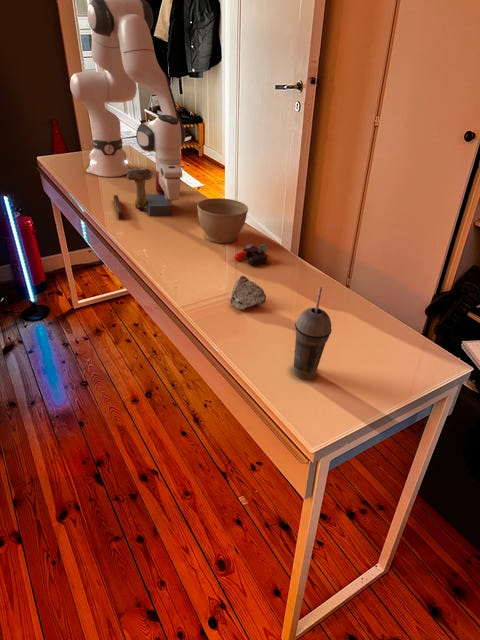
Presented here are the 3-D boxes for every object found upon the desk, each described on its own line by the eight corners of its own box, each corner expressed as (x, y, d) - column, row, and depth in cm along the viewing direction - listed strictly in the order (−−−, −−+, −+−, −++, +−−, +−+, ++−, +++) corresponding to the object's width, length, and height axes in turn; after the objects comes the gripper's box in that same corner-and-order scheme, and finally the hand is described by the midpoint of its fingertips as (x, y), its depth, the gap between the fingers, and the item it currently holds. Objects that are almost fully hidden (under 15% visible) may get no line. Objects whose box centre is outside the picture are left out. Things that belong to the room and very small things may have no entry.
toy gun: (252, 248, 152) (253, 234, 149) (270, 264, 143) (272, 249, 141) (224, 252, 148) (226, 237, 145) (242, 268, 139) (243, 253, 136)
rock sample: (217, 293, 118) (241, 267, 118) (220, 298, 125) (242, 274, 126) (248, 320, 117) (272, 294, 117) (249, 324, 124) (272, 299, 125)
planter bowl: (254, 237, 159) (257, 206, 153) (226, 252, 148) (229, 219, 142) (215, 224, 166) (217, 194, 160) (186, 237, 154) (186, 205, 149)
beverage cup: (285, 380, 98) (300, 296, 87) (288, 359, 104) (302, 278, 93) (321, 386, 97) (340, 302, 86) (321, 365, 103) (339, 284, 92)
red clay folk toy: (161, 196, 186) (161, 157, 178) (152, 191, 190) (151, 152, 182) (177, 194, 190) (178, 155, 182) (168, 189, 194) (168, 151, 186)
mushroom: (136, 215, 167) (135, 172, 159) (123, 208, 172) (121, 166, 164) (158, 210, 173) (158, 169, 165) (144, 203, 178) (143, 162, 170)
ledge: (113, 201, 177) (113, 195, 175) (117, 201, 177) (117, 195, 176) (118, 219, 162) (118, 212, 161) (123, 219, 163) (123, 212, 162)
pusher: (144, 204, 177) (144, 195, 175) (163, 203, 179) (163, 194, 177) (149, 215, 168) (149, 206, 166) (169, 215, 170) (169, 205, 168)
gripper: (154, 158, 174) (155, 195, 181) (164, 174, 158) (165, 214, 165) (171, 158, 176) (171, 194, 183) (183, 174, 160) (183, 213, 167)
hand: (168, 204), depth 174 cm, fingers closed, pressing on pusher
